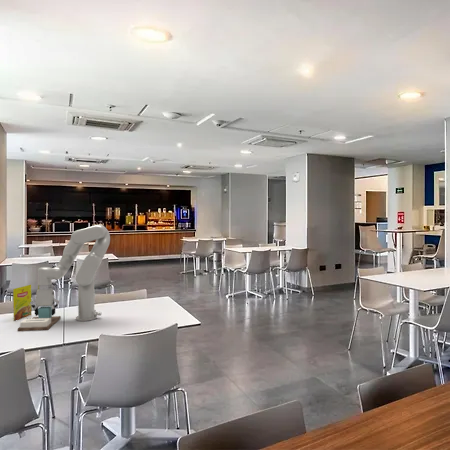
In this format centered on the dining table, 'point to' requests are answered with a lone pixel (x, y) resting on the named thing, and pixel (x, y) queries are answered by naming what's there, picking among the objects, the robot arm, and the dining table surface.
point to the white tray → (35, 322)
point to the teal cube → (45, 312)
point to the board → (53, 321)
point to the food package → (22, 302)
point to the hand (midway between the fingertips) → (45, 315)
